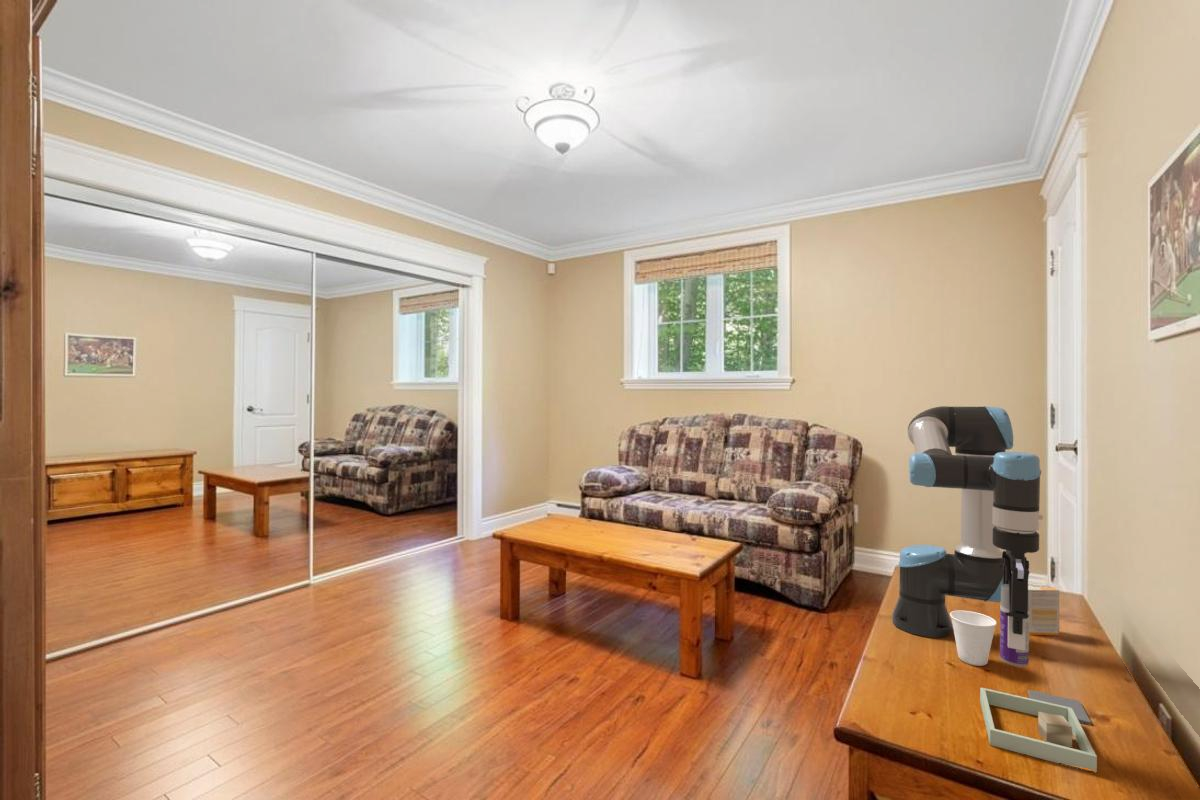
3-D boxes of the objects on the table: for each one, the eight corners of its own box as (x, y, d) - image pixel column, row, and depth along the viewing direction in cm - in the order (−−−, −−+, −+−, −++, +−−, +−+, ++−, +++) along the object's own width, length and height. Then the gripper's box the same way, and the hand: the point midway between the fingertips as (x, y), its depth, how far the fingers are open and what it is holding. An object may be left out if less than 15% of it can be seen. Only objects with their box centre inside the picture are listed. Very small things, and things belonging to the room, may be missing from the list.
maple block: (1046, 743, 105) (1046, 722, 105) (1038, 731, 109) (1038, 711, 109) (1071, 747, 104) (1072, 727, 104) (1062, 735, 108) (1062, 715, 108)
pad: (1035, 712, 116) (1035, 709, 116) (1027, 692, 123) (1027, 689, 123) (1091, 725, 111) (1091, 722, 111) (1079, 703, 119) (1079, 700, 119)
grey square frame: (990, 745, 105) (990, 729, 105) (980, 700, 120) (980, 687, 120) (1096, 773, 97) (1096, 756, 97) (1071, 722, 112) (1071, 707, 112)
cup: (988, 655, 141) (988, 613, 141) (1003, 673, 132) (1003, 628, 132) (944, 649, 144) (945, 608, 144) (955, 666, 135) (956, 622, 135)
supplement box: (1047, 629, 157) (1048, 584, 157) (1060, 636, 152) (1060, 590, 152) (1017, 627, 158) (1017, 583, 158) (1028, 635, 153) (1029, 589, 153)
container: (993, 655, 112) (994, 584, 112) (1014, 654, 113) (1015, 583, 112) (1012, 667, 108) (1013, 592, 107) (1034, 666, 108) (1035, 591, 108)
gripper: (1048, 542, 100) (1047, 666, 100) (1030, 521, 115) (1029, 630, 116) (998, 536, 104) (997, 657, 104) (987, 517, 119) (986, 622, 120)
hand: (1014, 642), depth 110 cm, fingers closed on container, 5 cm apart
